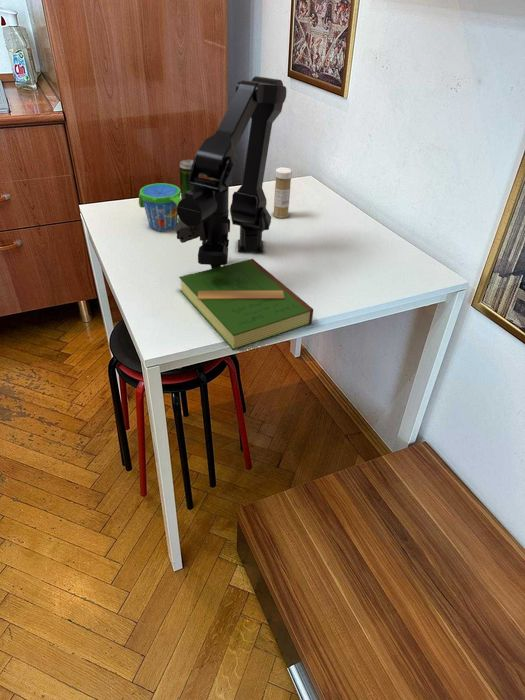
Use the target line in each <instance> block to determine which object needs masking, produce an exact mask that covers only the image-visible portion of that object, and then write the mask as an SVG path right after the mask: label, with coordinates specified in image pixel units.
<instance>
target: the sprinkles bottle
mask: <svg viewBox="0 0 525 700" xmlns="http://www.w3.org/2000/svg"><path fill="white" fill-rule="evenodd" d="M274 174H275V175H274V176H275V185H274V186H275V187H274V199H273V213H272V215H273V216H274V217H275V218H278V219H285V218H288V217H289V207H290V197H291V182H292V181H291V180H292V178H293V177H292V176H293V170H292V169H291V168H289V167H284V166H283V167H277V168H276V169H275V173H274Z"/></svg>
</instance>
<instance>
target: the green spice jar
mask: <svg viewBox="0 0 525 700" xmlns="http://www.w3.org/2000/svg"><path fill="white" fill-rule="evenodd" d="M193 160H194V159H183V160H181V161H180V162H179V181H180V182H179V183H180V190H181V195H180V198H181V200H182V199H183V198H185V192H186V191H188V190H191V189H193V188H194V186H191V185H187V181H188V178H189V174H190V171H191V167H192V164H193ZM198 177H200V175H198Z"/></svg>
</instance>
